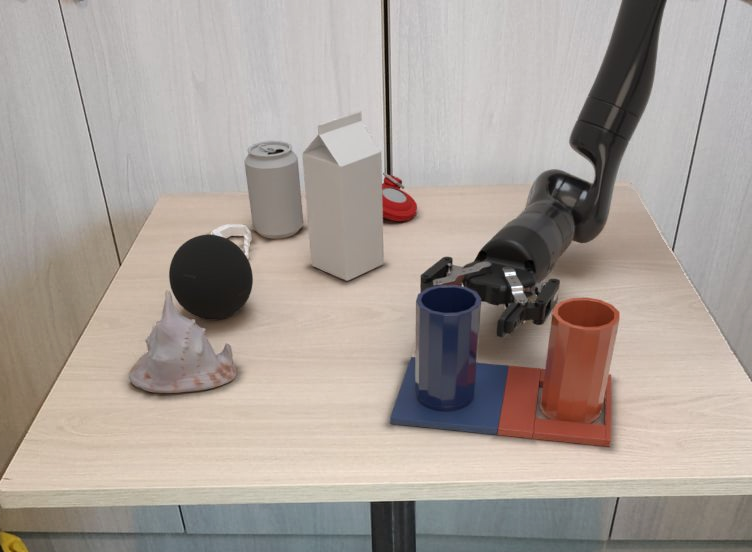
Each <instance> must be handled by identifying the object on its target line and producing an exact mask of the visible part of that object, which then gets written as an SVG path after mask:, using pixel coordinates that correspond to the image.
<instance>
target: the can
mask: <svg viewBox="0 0 752 552" xmlns="http://www.w3.org/2000/svg"><path fill="white" fill-rule="evenodd" d="M247 153H248V154H247V155H246V157H245V159H244V170H245V177H246V184H247V191H248V199H249V206H250V207H249V208H250V215H251V223H252V228H253V231H255V232H257V233H258V234H259V235H260V236H262V237H264V238H266V239H272V240H273V239H274V240H275V239H277V240H278V239H279V240H280V239H285V238H289V237H291V236H292V237H293V236H294V235H296V234H297V233H298V232H299V230H300V229H302V227H303V226H304V214H303V201H302V193H301V181H300V180H301V179H300V169H299V158H298V155H297V154H296V153H295V152H294V151H293V146H292V144H290V143H289V142H286V141H283V140H264V141H260V142H255V143H253V144H252V145H250V146H249V147H248V148H247Z"/></svg>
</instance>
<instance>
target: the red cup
mask: <svg viewBox="0 0 752 552" xmlns="http://www.w3.org/2000/svg"><path fill="white" fill-rule="evenodd" d="M620 319H621V318H620V311H619V310H618V309H617V308H616V307H615V306H614V305H613V304H611V303H609V302H606V301H604V300H601V299H597V298H592V297H571V298H567V299H564V300H561V301H559V302H557V304H556V305H555V306H554V307H553V310H552V314H551V321H550V329H549V336H548V337H549V338H548V344H547V350H546V351H547V352H546V360H545V367H544V369H545V374H544V381H543V387H542V390H541V397H540V404H539V405H540V411H541V412H542V414H543V415H544V417H546V418H547V419H549V420H559V421H569V422H579V423H589V424H592V422H594V421H596V420H597V419H598V418H599V417H600V415H601V414H602V411H603V406H604V402H605V391H606V386H607V381H608V376H609V374H610V370H611V365H612V360H613V356H614V350H615V345H616V339H617V334H618V330H619V329H618V328H619V324H620Z"/></svg>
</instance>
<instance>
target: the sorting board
mask: <svg viewBox="0 0 752 552" xmlns="http://www.w3.org/2000/svg"><path fill="white" fill-rule="evenodd" d="M544 374H545V368H541V367H540V368H539V367H532V366H531V367H530V366H519V365H508V364H497V363H484V362H477V372H476V387H475V395H474V399H473V401H472V402H471V403H470V404H469V405H468V406H466V407H464V408H462V409H459V410H454V411H437V410H433V409H430V408H427V407H425V406H423V405H422V404H421V403H420V402H419V401H418V400H417V398H416V391H415V356H411V357H410V359H409V362H408V365H407V368H406V371H405V373H404V377H403V379H402V382H401V386H400V388H399V391H398V394H397V396H396V400H395V403H394V406H393V409H392V412H391V415H390V418H389V419H390V420H389V422H390V423H389V424H390V425H398V426H408V427H418V428H428V429H436V430H437V429H438V430H445V431H446V430H448V431H455V432H466V433H475V434H485V435H495V436H497V435H498V436H504V437H505V436H506V437H515V438H516V437H517V438H525V439H534V440H541V441H542V440H543V441H551V442H553V441H554V442H560V443H561V442H563V443H573V444H581V445H590V446H592V445H593V446H599V447H601V446H602V447H610V446H611V442H612V374H610V373H609V376H608V381H607V386H606V391H605V396H604V424H600V423H599V424H597V423H579V422H569V421H559V420H551V419H549V418H537V417H536V413H537V403H538V397H539V387H542V388H543V381H544Z"/></svg>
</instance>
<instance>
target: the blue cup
mask: <svg viewBox="0 0 752 552" xmlns="http://www.w3.org/2000/svg"><path fill="white" fill-rule="evenodd" d="M481 310H482V302H481V297H480V296H479V295H478V293H477V292H476V291H473V290H471V289H469V288H467V287H464V286H463V285H462V286H458V285H438V286H434V287H430V288H427V289H425V290H424V291H422V292H421V293H420V292H419V293H418V294H417V297H416V300H415V356H414V357H415V391H416V398H417V400H418V401H419V402H420V403H421V404H422V405H423V406H425V407H427V408H430V409H433V410H437V411H454V410H459V409H462V408H464V407H466V406H468V405H469V404H470V403H471V402H472V401H473V399H474V395H475V387H476V372H477V363H478V356H479V355H478V354H479V339H480V328H481V327H480V325H481Z"/></svg>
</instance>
